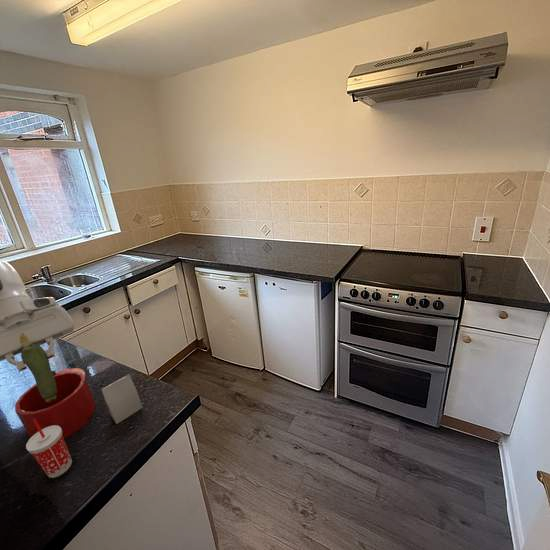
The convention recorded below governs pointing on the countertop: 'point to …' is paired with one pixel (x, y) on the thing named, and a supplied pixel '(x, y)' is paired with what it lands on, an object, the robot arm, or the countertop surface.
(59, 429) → the beverage cup
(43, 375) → the vegetable
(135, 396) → the grey rectangular block
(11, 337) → the robot arm
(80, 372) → the lid
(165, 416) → the countertop surface
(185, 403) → the countertop surface
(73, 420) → the pot
